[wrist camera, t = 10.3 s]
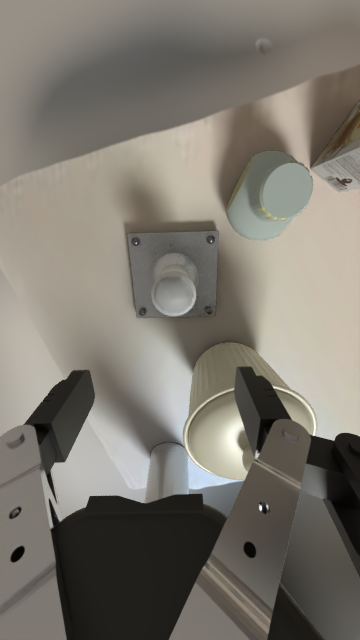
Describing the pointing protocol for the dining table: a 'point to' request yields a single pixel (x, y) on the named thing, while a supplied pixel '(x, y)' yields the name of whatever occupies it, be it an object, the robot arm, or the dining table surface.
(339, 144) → the coffee box
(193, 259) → the duct flange
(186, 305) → the duct stub
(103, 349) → the dining table surface
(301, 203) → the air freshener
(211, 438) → the canister
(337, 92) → the dining table surface
